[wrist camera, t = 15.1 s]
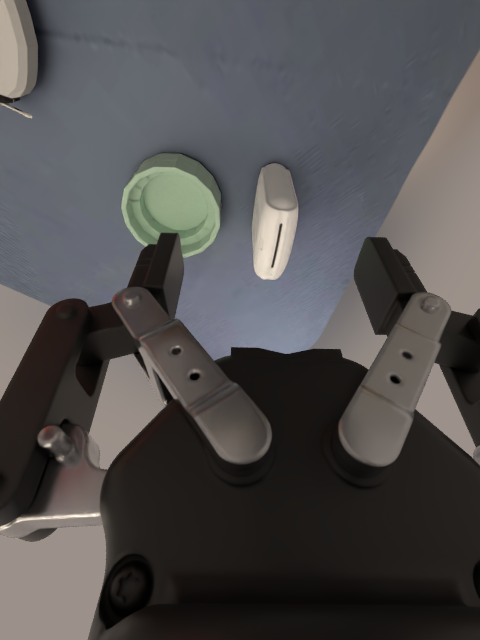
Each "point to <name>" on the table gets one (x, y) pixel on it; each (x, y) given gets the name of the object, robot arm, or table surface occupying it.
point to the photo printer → (273, 221)
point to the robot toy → (17, 53)
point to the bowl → (173, 202)
